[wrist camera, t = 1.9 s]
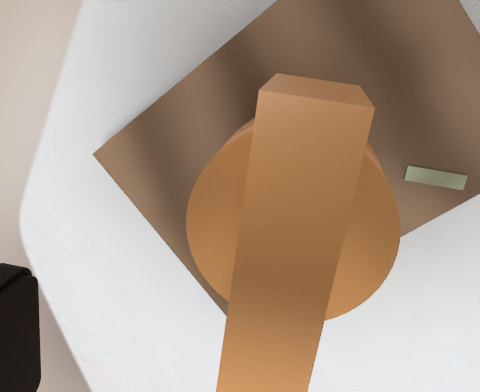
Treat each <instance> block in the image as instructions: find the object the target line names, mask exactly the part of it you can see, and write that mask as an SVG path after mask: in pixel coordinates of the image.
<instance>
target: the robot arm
mask: <svg viewBox="0 0 480 392" xmlns="http://www.w3.org/2000/svg"><path fill="white" fill-rule="evenodd" d="M38 299H39V298H38V280H37V278H36V277H34V276H32V273H31V271H30V269H28V268H25V267H20V266H15V265H10V264H5V263H0V392H36V391H37V389H38V387H39V383H40V380H41V362H40V331H39V330H40V329H39V300H38Z"/></svg>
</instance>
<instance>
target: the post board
mask: <svg viewBox="0 0 480 392" xmlns="http://www.w3.org/2000/svg"><path fill="white" fill-rule="evenodd" d="M276 73H280V74H286V75H293V76H300V77H306V78H313V79H319V80H326V81H333V82H339V83H346V84H353V85H359V86H360V87H361V88H362V90H363V91H364V93H365V94H366V95H367V97H368V98H369V100H370V101H371V103H372V104H373V106H374V107H375V110H374V114H373V118H372V122H371V127H370V131H369V135H368V139H367V142H368V143H369V144H370V146H371V147H372V149H373V151H374V152H375V154H376V156H377V158H378V161H379V163H380V165H381V168H382V170H383V172H384V175H385V177H386V179H387V181H388V184H389V186H390V188H391V191H392V193H393V196H394V198H395V201H396V204H397V208H398V212H399V218H400V237H401V236H403V235H405V234H407V233H409V232H411V231H412V230H414V229H416V228H418V227H420V226H421V225H423V224H425V223H427V222H429V221H431V220H432V219H434V218H436V217H438V216H440V215H441V214H443V213H445V212H447V211H449V210H451V209H452V208H454V207H456V206H458V205H460V204H462V203H463V202H465V201H467V200H469V199H471V198H472V197H474V196H476V195H478V194H480V35H479V33H478V32H477V30H476V28H475V27H474V25H473V23H472V22H471V20H470V18H469V17H468V15H467V13H466V12H465V10H464V8H463V7H462V5H461V3H460V2H459V0H278V1H276V2H275V3H274V4H273V5H272V6H270V7H269V8H268V9H267V10H266V11H264V12H263V13H262V14H261V15H260V16H258V17H257V18H256V19H255V20H254V21H252V22H251V23H250V24H249V25H247V26H246V27H245V28H244V29H243V30H241V31H240V32H239V33H238V34H237V35H235V36H234V37H233V38H232V39H231V40H229V41H228V42H227V43H226V44H225V45H223V46H222V47H221V48H220V49H219V50H217V51H216V52H215V53H214V54H213V55H211V56H210V57H209V58H208V59H206V60H205V61H204V62H203V63H202V64H200V65H199V66H198V67H197V68H196V69H194V70H193V71H192V72H191V73H190V74H188V75H187V76H186V77H185V78H184V79H182V80H181V81H180V82H179V83H178V84H176V85H175V86H174V87H173V88H172V89H170V90H169V91H168V92H167V93H166V94H164V95H163V96H162V97H161V98H159V99H158V100H157V101H156V102H155V103H153V104H152V105H151V106H150V107H149V108H147V109H146V110H145V111H144V112H143V113H141V114H140V115H139V116H138V117H137V118H135V119H134V120H133V121H132V122H131V123H129V124H128V125H127V126H126V127H125V128H123V129H122V130H121V131H120V132H119V133H117V134H116V135H115V136H114V137H112V138H111V139H110V140H109V141H108V142H106V143H105V144H104V145H103V146H102V147H100V148H99V149H98V150H97V151H96V152H94V153H93V155H94V157H95V158H96V159H97V160H98V161H99V163H100V164H101V165H102V166H103V167H104V169H105V170H106V171H107V172H108V174H109V175H110V176H111V177H112V178H113V180H114V181H115V182H116V183H117V184H118V186H119V187H120V188H121V189H122V190H123V192H124V193H125V194H126V195H127V196H128V198H129V199H130V200H131V201H132V203H133V204H134V205H135V206H136V207H137V209H138V210H139V211H140V212H141V213H142V215H143V216H144V217H145V218H146V219H147V221H148V222H149V223H150V224H151V225H152V227H153V228H154V229H155V230H156V232H157V233H158V234H159V235H160V236H161V238H162V239H163V240H164V241H165V242H166V244H167V245H168V246H169V247H170V248H171V250H172V251H173V252H174V253H175V254H176V256H177V257H178V258H179V259H180V261H181V262H182V263H183V264H184V265H185V267H186V268H187V269H188V270H189V271H190V273H191V274H192V275H193V276H194V277H195V279H196V280H197V281H198V282H199V283H200V285H201V286H202V287H203V288H204V290H205V291H206V292H207V293H208V294H209V296H210V297H211V298H212V299H213V300H214V302H215V303H216V304H217V305H218V306H219V308H220V309H221V310H222V311H223V312H224V314H225V315H226V316H227V312H228V305H229V302H228V301H227V300H225V299H224V298H223V297H222V296H221V295H220V294H218V293H217V292H216V291H215V290H214V289H213V288H212V286H211V285H210V284H209V283H208V282H207V281H206V279H205V278H204V276H203V275H202V274H201V272H200V270H199V269H198V267H197V265H196V263H195V261H194V258H193V256H192V253H191V251H190V247H189V243H188V239H187V231H186V213H187V207H188V201H189V198H190V195H191V192H192V189H193V187H194V185H195V183H196V181H197V179H198V177H199V176H200V174H201V173H202V171H203V170H204V168H205V167H206V166H207V165H208V163H209V162H210V161H211V160H212V159H213V158H214V156H215V155H216V154H217V153H218V152H219V151H220V149H221V148H222V147H223V146H224V145H225V143H226V142H227V141H228V140H229V139H230V138H231V137H232V136H233V134H234V133H235V132H236V131H237V130H238V129H240V128H241V127H242V126H243V125H244V124H246V123H247V122H249V121H251V120H252V119H254V118H255V115H256V108H257V100H258V93H259V89H260V88H261V87H263V86H264V85H265V84H266V83H267V82H268V81H269V80H270V79H271V78H272V77H273V76H274V75H275V74H276Z"/></svg>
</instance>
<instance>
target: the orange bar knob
mask: <svg viewBox="0 0 480 392" xmlns="http://www.w3.org/2000/svg"><path fill="white" fill-rule="evenodd" d="M374 110H375V107H374V106H373V104H372V103H371V101H370V100H369V98H368V97H367V95H366V94H365V93H364V91H363V90H362V88H361V87H360V86H359V85H353V84H346V83H339V82H333V81H326V80H319V79H313V78H306V77H300V76H293V75H286V74H280V73H276V74H275V75H274V76H273V77H272V78H271V79H270V80H269V81H268V82H267V83H266V84H265V85H264V86H263V87H261V88H260V89H259V93H258V100H257V108H256V115H255V118H254V119H252V120H251V121H249V122H247V123H246V124H244V125H243V126H242V127H241V128H240V129H238V130H237V131H236V132H235V133H234V134H233V136H232V137H231V138H230V139H229V140H228V141H227V142H226V143H225V145H224V146H223V147H222V148H221V149H220V151H219V152H218V153H217V154H216V155H215V156H214V158H213V159H212V160H211V161H210V162H209V163H208V165H207V166H206V167H205V168H204V170H203V171H202V173H201V174H200V176H199V177H198V179H197V181H196V183H195V185H194V187H193V189H192V192H191V195H190V198H189V201H188V207H187V213H186V231H187V239H188V243H189V247H190V251H191V253H192V256H193V258H194V261H195V263H196V265H197V267H198V269H199V270H200V272H201V274H202V275H203V276H204V278H205V279H206V281H207V282H208V283H209V284H210V285H211V286H212V288H213V289H214V290H215V291H216V292H217V293H218V294H220V295H221V296H222V297H223V298H224V299H225V300H227V301H228V302H229V305H228V312H227V319H226V326H225V333H224V340H223V347H222V354H221V361H220V368H219V375H218V382H217V389H216V392H307V391H308V387H309V382H310V378H311V374H312V370H313V366H314V362H315V357H316V353H317V349H318V345H319V341H320V336H321V332H322V328H323V324H324V321H325V320H328V319H332V318H335V317H338V316H340V315H342V314H345V313H347V312H349V311H351V310H352V309H354V308H356V307H357V306H359V305H360V304H362V303H363V302H364V301H366V300H367V299H368V298H369V297H370V296H371V295H372V294H373V293H374V292H375V291H376V290H377V289H378V288H379V287H380V286H381V284H382V283H383V282H384V280H385V279H386V278H387V276H388V274H389V272H390V270H391V268H392V267H393V264H394V261H395V258H396V256H397V252H398V247H399V243H400V218H399V212H398V208H397V204H396V201H395V198H394V196H393V193H392V191H391V188H390V186H389V184H388V181H387V179H386V177H385V175H384V172H383V170H382V168H381V165H380V163H379V161H378V158H377V156H376V154H375V152H374V151H373V149H372V147H371V146H370V144H369V143H368V142H367V139H368V135H369V131H370V127H371V122H372V118H373V114H374Z"/></svg>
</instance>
